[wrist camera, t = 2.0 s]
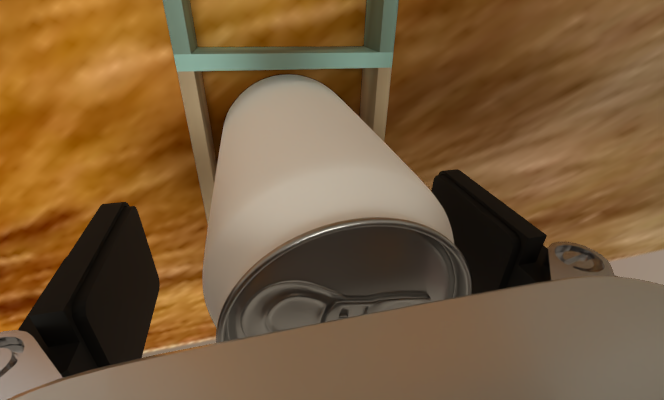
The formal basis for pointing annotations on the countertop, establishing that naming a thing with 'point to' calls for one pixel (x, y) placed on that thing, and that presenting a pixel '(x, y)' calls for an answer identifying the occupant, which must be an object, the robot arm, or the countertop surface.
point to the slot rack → (197, 59)
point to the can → (317, 218)
